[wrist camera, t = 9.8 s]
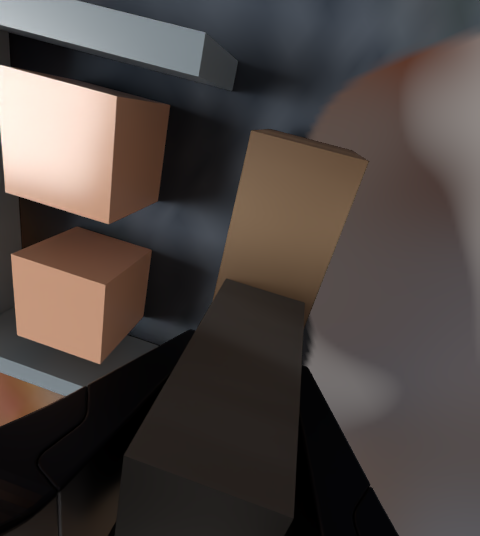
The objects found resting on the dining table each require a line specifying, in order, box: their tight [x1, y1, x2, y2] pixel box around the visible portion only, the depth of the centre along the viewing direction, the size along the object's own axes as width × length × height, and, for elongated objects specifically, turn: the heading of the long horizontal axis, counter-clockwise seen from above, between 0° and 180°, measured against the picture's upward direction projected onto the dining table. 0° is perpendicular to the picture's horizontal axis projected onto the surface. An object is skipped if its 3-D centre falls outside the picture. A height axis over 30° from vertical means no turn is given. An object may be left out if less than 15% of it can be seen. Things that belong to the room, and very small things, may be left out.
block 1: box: [0, 65, 170, 224], centre depth 12 cm, size 4×4×4 cm
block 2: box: [11, 227, 152, 364], centre depth 15 cm, size 4×4×4 cm
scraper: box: [115, 129, 369, 536], centre depth 10 cm, size 11×3×10 cm, turn 167°
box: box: [0, 0, 238, 396], centre depth 14 cm, size 15×10×4 cm
